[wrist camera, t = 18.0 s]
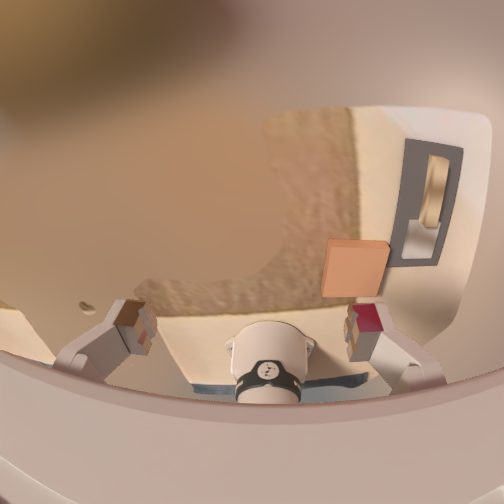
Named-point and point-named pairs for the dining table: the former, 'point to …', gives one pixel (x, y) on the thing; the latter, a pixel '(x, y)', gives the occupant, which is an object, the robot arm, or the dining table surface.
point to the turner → (427, 212)
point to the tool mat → (413, 197)
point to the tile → (354, 268)
